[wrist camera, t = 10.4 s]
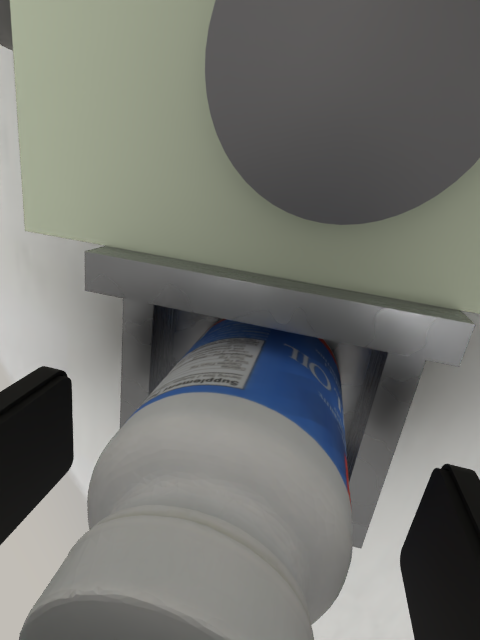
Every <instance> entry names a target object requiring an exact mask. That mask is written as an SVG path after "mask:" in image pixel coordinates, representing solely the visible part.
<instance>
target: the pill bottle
mask: <svg viewBox="0 0 480 640" xmlns="http://www.w3.org/2000/svg"><path fill="white" fill-rule="evenodd" d="M87 504H88V523H89V529H90V530H89V531H88V532H87V533H85V534H84V535H83V536H82V538H80V539H79V540H78V541H77V543H76V544H75V545H74V546H73V547H72V549H71V550H70V552H69V554H68V556H67V558H66V559H65V561H64V562H63V564H62V565H61V567H60V568H59V570H58V571H57V573H56V574H55V576H54V577H53V578H52V580H51V582H50V583H49V584H48V586H47V587H46V589H45V590H44V592H43V593H42V595H41V596H40V598H39V599H38V601H37V602H36V604H35V605H34V607H33V608H32V609H31V611H30V613H29V615H28V616H27V618H26V620H25V623H24V625H23V628H22V630H21V633H20V637H19V640H314V637H313V631H312V627H311V625H312V624H313V623H314V622H316V621H317V620H318V619H319V618H320V617H321V616H322V615H323V614H324V613H325V612H326V611H327V610H328V609H329V608H330V607H331V605H332V604H333V602H334V601H335V600H336V598H337V597H338V595H339V593H340V591H341V589H342V587H343V584H344V582H345V579H346V576H347V573H348V569H349V566H350V562H351V558H352V546H353V534H352V509H351V498H350V488H349V476H348V465H347V452H346V440H345V425H344V415H343V401H342V388H341V378H340V373H339V368H338V365H337V361H336V359H335V356H334V354H333V352H332V350H331V348H330V347H329V345H328V344H327V342H326V341H325V340H324V339H321V338H316V337H311V336H306V335H301V334H296V333H291V332H286V331H282V330H277V329H272V328H267V327H262V326H257V325H252V324H247V323H242V322H238V321H233V320H228V319H222V320H220V321H219V322H217V323H216V324H214V325H213V326H212V327H210V328H209V329H208V330H207V331H206V332H205V333H204V334H203V335H202V336H201V337H200V339H199V340H198V341H197V342H196V343H195V344H194V345H193V346H192V348H191V349H190V350H189V351H188V352H187V353H186V354H185V356H184V357H183V358H182V359H181V360H180V361H179V362H178V363H177V365H176V366H175V367H174V368H173V369H172V370H171V371H170V372H169V374H168V375H167V376H166V377H165V378H164V379H163V380H162V382H161V383H160V384H159V385H158V386H157V387H156V388H155V389H154V391H153V392H152V393H151V394H150V395H149V396H148V397H147V399H146V400H145V401H144V402H143V403H142V404H141V405H140V406H139V408H138V409H137V410H136V411H135V412H134V413H133V414H132V415H131V417H130V418H129V419H128V420H127V421H126V422H125V424H124V425H123V426H122V427H121V429H120V430H119V431H118V432H117V433H116V435H115V436H114V437H113V438H112V439H111V440H110V442H109V443H108V445H107V446H106V447H105V449H104V450H103V452H102V454H101V455H100V457H99V459H98V461H97V463H96V465H95V468H94V470H93V474H92V477H91V480H90V485H89V490H88V501H87Z"/></svg>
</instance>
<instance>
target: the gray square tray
mask: <svg viewBox="0 0 480 640" xmlns="http://www.w3.org/2000/svg"><path fill="white" fill-rule="evenodd" d="M85 290H86V291H91V292H96V293H100V294H105V295H110V296H115V297H120V298H123V334H122V372H121V410H120V429H121V427H122V426H123V425H124V424H125V422H126V421H127V420H128V419H129V418H130V417H131V415H132V414H133V413H134V412H135V411H136V410H137V409H138V408H139V406H140V405H141V404H142V403H143V402H144V401H145V400H146V399H147V397H148V396H149V395H150V394H151V393H152V392H153V391H154V389H155V388H156V387H157V386H158V385H159V384H160V383H161V382H162V380H163V379H164V378H165V377H166V376H167V375H168V374H169V372H170V371H171V370H172V369H173V368H174V367H175V366H176V365H177V363H178V362H179V361H180V360H181V359H182V358H183V357H184V356H185V354H186V353H187V352H188V351H189V350H190V349H191V348H192V346H193V345H194V344H195V343H196V342H197V341H198V340H199V339H200V337H201V336H202V335H203V334H204V333H205V332H206V331H207V330H208V329H209V328H210V327H212V326H213V325H214V324H216V323H217V322H219V321H220V320H222V319H228V320H233V321H238V322H242V323H247V324H252V325H257V326H262V327H267V328H272V329H277V330H282V331H286V332H291V333H296V334H301V335H306V336H311V337H316V338H321V339H324V340H325V341H326V342H327V344H328V345H329V347H330V348H331V350H332V352H333V354H334V356H335V359H336V361H337V365H338V368H339V373H340V378H341V388H342V401H343V415H344V425H345V440H346V452H347V465H348V476H349V488H350V498H351V509H352V534H353V546H354V547H357V548H362V545H363V542H364V539H365V536H366V533H367V530H368V527H369V524H370V521H371V519H372V516H373V513H374V510H375V507H376V504H377V501H378V498H379V495H380V492H381V489H382V487H383V484H384V481H385V478H386V475H387V472H388V469H389V466H390V463H391V460H392V457H393V455H394V452H395V449H396V446H397V443H398V440H399V437H400V434H401V431H402V428H403V425H404V423H405V420H406V417H407V414H408V411H409V408H410V405H411V402H412V399H413V396H414V393H415V391H416V388H417V385H418V382H419V379H420V376H421V373H422V370H423V367H424V364H425V361H426V360H428V361H433V362H438V363H443V364H448V365H453V366H458V367H459V366H460V364H461V361H462V358H463V356H464V353H465V350H466V348H467V345H468V343H469V340H470V337H471V335H472V332H473V329H474V327H475V324H474V323H473V322H472V321H471V320H470V319H469V318H468V317H467V316H466V315H464V314H463V313H462V312H461V311H460V310H455V309H450V308H444V307H439V306H433V305H428V304H423V303H417V302H412V301H406V300H401V299H395V298H390V297H384V296H379V295H373V294H368V293H362V292H357V291H351V290H346V289H340V288H335V287H329V286H324V285H318V284H313V283H308V282H302V281H297V280H291V279H286V278H280V277H275V276H269V275H264V274H258V273H253V272H247V271H242V270H236V269H231V268H225V267H220V266H214V265H209V264H203V263H198V262H193V261H187V260H182V259H176V258H171V257H165V256H160V255H154V254H149V253H143V252H138V251H132V250H127V249H121V248H116V247H110V246H104V247H100V248H96V249H92V250H88V251H85Z"/></svg>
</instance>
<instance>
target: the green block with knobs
mask: <svg viewBox="0 0 480 640" xmlns="http://www.w3.org/2000/svg"><path fill="white" fill-rule="evenodd" d="M0 44H1V45H2V46H4V47H6V48H8V49H10V50H13V57H14V72H15V87H16V102H17V118H18V133H19V148H20V163H21V178H22V194H23V209H24V224H25V231H28V232H34V233H39V234H45V235H50V236H56V237H61V238H67V239H72V240H77V241H83V242H88V243H94V244H99V245H105V246H110V247H116V248H121V249H127V250H132V251H138V252H143V253H149V254H154V255H160V256H165V257H171V258H176V259H182V260H187V261H193V262H198V263H203V264H209V265H214V266H220V267H225V268H231V269H236V270H242V271H247V272H253V273H258V274H264V275H269V276H275V277H280V278H286V279H291V280H297V281H302V282H308V283H313V284H318V285H324V286H329V287H335V288H340V289H346V290H351V291H357V292H362V293H368V294H373V295H379V296H384V297H390V298H395V299H401V300H406V301H412V302H417V303H423V304H428V305H433V306H439V307H444V308H450V309H455V310H461V311H466V312H472V313H477V314H480V0H0Z"/></svg>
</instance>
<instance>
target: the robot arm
mask: <svg viewBox="0 0 480 640" xmlns="http://www.w3.org/2000/svg"><path fill="white" fill-rule="evenodd" d="M72 462H73V419H72V383H71V380H70V378H68V377H67V374H66V372H64V371H62V370H58V369H54V368H50V367H45V366H42V367H40V368H38V369H37V370H35V371H33V372H32V373H30V374H28V375H27V376H25V377H24V378H22V379H20V380H19V381H17V382H16V383H14V384H12V385H11V386H9V387H8V388H6V389H4V390H3V391H1V392H0V545H1V544H2V543H3V542H4V541H5V539H6V538H7V537H8V536H9V535H10V534H11V533H12V532H13V531H14V530H15V529H16V527H17V526H18V525H19V524H20V523H21V522H22V521H23V520H24V519H25V518H26V517H27V515H28V514H29V513H30V512H31V511H32V510H33V509H34V508H35V507H36V506H37V504H38V503H39V502H40V501H41V500H42V499H43V498H44V497H45V496H46V495H47V494H48V492H49V491H50V490H51V489H52V488H53V487H54V486H55V485H56V484H57V483H58V482H59V481H60V479H61V478H62V477H63V476H64V475H65V474H66V473H67V472H68V470H69V469H70V467H71V465H72ZM400 566H401V572H402V577H403V582H404V587H405V592H406V598H407V603H408V608H409V613H410V618H411V623H412V628H413V633H414V638H415V640H480V480H479V478H478V476H477V474H476V473H475V471H473V470H470V469H466V468H462V467H458V466H454V465H450V464H445V465H443V466H442V468H441V469H439V468H435V469H434V470H433V472H432V474H431V477H430V479H429V482H428V484H427V487H426V489H425V492H424V494H423V497H422V499H421V502H420V504H419V507H418V509H417V512H416V515H415V517H414V520H413V522H412V525H411V527H410V530H409V532H408V535H407V537H406V540H405V542H404V545H403V547H402V550H401V555H400Z"/></svg>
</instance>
